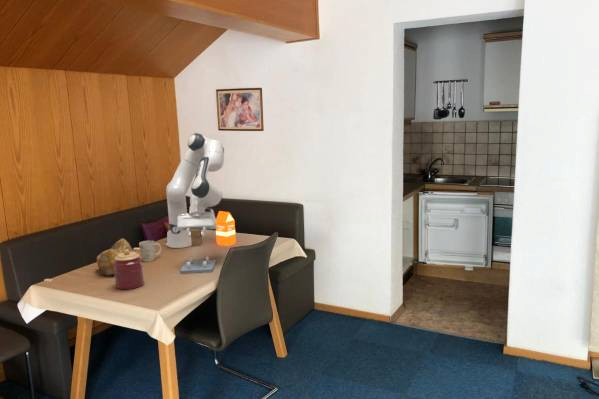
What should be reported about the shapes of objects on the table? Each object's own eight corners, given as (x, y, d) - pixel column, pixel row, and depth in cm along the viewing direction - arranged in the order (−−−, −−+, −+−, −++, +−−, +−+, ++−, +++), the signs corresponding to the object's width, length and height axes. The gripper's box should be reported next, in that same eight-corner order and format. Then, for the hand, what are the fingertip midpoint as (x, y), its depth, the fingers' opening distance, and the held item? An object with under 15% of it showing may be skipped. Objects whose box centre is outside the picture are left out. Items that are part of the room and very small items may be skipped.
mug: (137, 260, 281) (136, 243, 279) (157, 255, 290) (156, 238, 288) (145, 263, 275) (144, 245, 273) (165, 257, 284) (164, 240, 282)
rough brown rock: (110, 264, 279) (105, 238, 276) (138, 262, 276) (133, 235, 273) (87, 280, 256) (81, 251, 253) (117, 277, 253) (111, 249, 250)
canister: (144, 287, 237) (140, 251, 234) (115, 291, 234) (110, 254, 231) (144, 279, 250) (140, 244, 246) (116, 282, 246) (112, 247, 243)
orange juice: (225, 241, 314) (223, 209, 310) (236, 243, 309) (234, 211, 305) (216, 244, 307) (214, 212, 304) (227, 246, 302) (225, 213, 299)
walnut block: (193, 243, 263) (191, 228, 262) (201, 243, 264) (200, 228, 262) (191, 246, 259) (190, 231, 257) (200, 245, 259) (199, 230, 258)
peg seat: (185, 263, 271) (185, 255, 270) (215, 262, 272) (215, 254, 271) (180, 273, 255) (179, 265, 255) (212, 272, 256) (211, 263, 255)
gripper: (176, 211, 265) (174, 234, 257) (215, 209, 266) (214, 232, 258) (178, 217, 270) (176, 240, 263) (217, 215, 271) (216, 238, 263)
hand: (196, 236), depth 260 cm, fingers closed on walnut block, 4 cm apart
